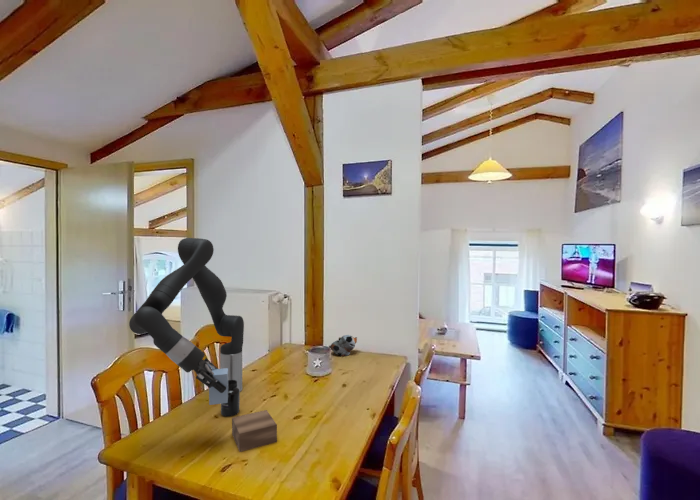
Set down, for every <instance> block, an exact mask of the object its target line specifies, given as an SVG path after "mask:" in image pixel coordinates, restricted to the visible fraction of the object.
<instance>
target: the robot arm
mask: <svg viewBox="0 0 700 500" xmlns="http://www.w3.org/2000/svg"><path fill="white" fill-rule="evenodd" d="M214 250H215V249H214V245H213V243H212V241H210V240H209V239H205V238H198V237H196V238H195V237H185V238H182V239H181V240H180V241H179V243H178V244H177V253H178V256H179V260H181V263H182V264H183V265H181V266H180V267H178V268H177V269H175V270H173V271H172V272H171V273H169V274H167V275H166V276H164V277H163V278H162V279H161V280H160V281H159V282H158V283H157V285H156V286H155V287H154V288H153V289H152V290H151V292H150V294H149V296H148V297H147V298H146V300H145V301H144V302H143V303H142V305H141V306H139V308H138V309H137V310H136V311H135V313H134V314H133V315H132V316H131V317H130V318H129V319H130V320H129V322H128V323H129V324H128V325H129V326H128V327H129V329H130V331H131V332H133V333H134V334H137V335H145V334H148V335H149V336H150V337H151V338H152V339H153V340H152V341H153V344H154V345H155V347H156V348H158V349H159V350H160V351H161V352H163V353H164V354H165V355H166V356H167V357H168V359H170V360H171V361H172V362H173V363H175V364H176V366H178V367H179V368H180V369H182V370H183V371H184V372H185V373H190V372H191V371H194V372H195V375H196V376H195V379H197V381H199V382H201V383H202V384H203V385H205V386H206V387H208V389H209V388H211V387H214V388H215V389H217V390H218V391H219V392H220V393H223V392H224V391H225V390H226V387H225V386H224V385H223V384H222V383H221V382H219V381H218V380H217V379H216V378H215V377H214V373H213V372H212V370H215V369H223V368H228V380H236V381H237V388H239V390H240V392H242V391H243V346H244V345H243V344H244V332H245V321H244V318H243V317H242V316H241V315H233V314H232V315H229V314H226V313H225V311H224V309H223V308H224V305H225V303H226V300H227V291H226V289H225V288H226V287H225V286H224V283H223V281H222V280H221V278H220V277H218V275H216V273H214V272H213V271H212V270H211V269H210V268H208V267H207V266H206V265H207V264H208V263H209V261H210V260H212V257H213V256H214V255H213V254H214ZM191 279H193V281H194V283H195V285H196V287H197V290H198V291H199V294H200V296H201V298H202V300H203V302H204V303H205V304H204V305H206V308H207V310H208V312H209V314H210V317H211V319H212V323H213V326H214V329H215V330H216V333H217V334H218V335H219V336H221V337H228V338H230V337H231V339H230V342H227V343H226V342H225V343H224V344H222V345H221V346H220V350H219V351H220V352H219V353H220V355H219V356H220V359H219V363H220V365H219V367H220V368H218V367H216V366H215V364H214V363H212V362H211V361H210V360H209V359H208V358H207V357H206V358H204V357H205V356H206V355H205V352H203V351H202V350H201V349H200V348H199V347H197V345H195V344H194V343H193V342H192V341H191V340H189V339H187V338H186V337H184V336H183V335H182V334H181V333H180V332H178V330H176V329H175V328H174V327H173V326H171V324H170V322H169V321H168V320H167V319H166V317H165V316H164V315H163V313H164V312H165V311H166V310H167V309H168V308H169V306H170V305H171V304H172V303H173V301H174V300H175V299H176V298H177V296H178V295H179V293H180V292H181V291H182V290H183V288H184V287H185V286H186V285H187V284H188V282H190V280H191ZM209 375H210V376H209ZM209 380H211V382H210V381H209Z"/></svg>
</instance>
